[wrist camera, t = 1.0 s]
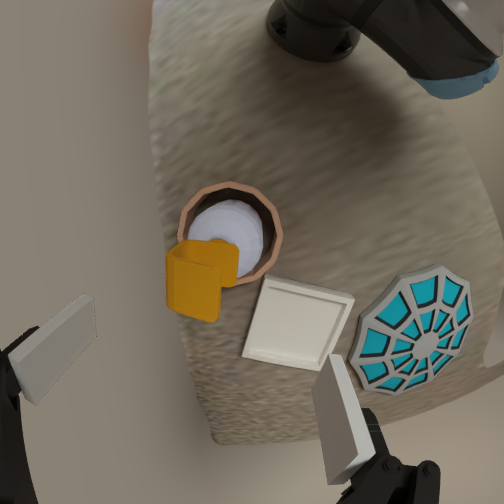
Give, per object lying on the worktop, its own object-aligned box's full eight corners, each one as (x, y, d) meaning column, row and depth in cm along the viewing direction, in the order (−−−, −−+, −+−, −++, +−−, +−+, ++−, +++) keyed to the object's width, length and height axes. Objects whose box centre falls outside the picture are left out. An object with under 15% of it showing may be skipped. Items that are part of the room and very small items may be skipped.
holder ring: (198, 173, 39) (190, 172, 35) (290, 195, 40) (294, 198, 35) (180, 260, 43) (170, 270, 38) (265, 282, 43) (266, 295, 39)
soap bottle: (259, 260, 43) (257, 357, 19) (201, 254, 43) (138, 339, 19) (265, 202, 40) (272, 235, 17) (205, 197, 40) (131, 223, 17)
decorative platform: (371, 255, 42) (383, 264, 37) (482, 266, 42) (496, 273, 37) (333, 394, 50) (338, 410, 45) (438, 382, 50) (446, 394, 45)
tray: (264, 272, 43) (265, 278, 41) (350, 293, 44) (354, 299, 41) (242, 348, 47) (241, 356, 45) (320, 363, 47) (322, 371, 45)
